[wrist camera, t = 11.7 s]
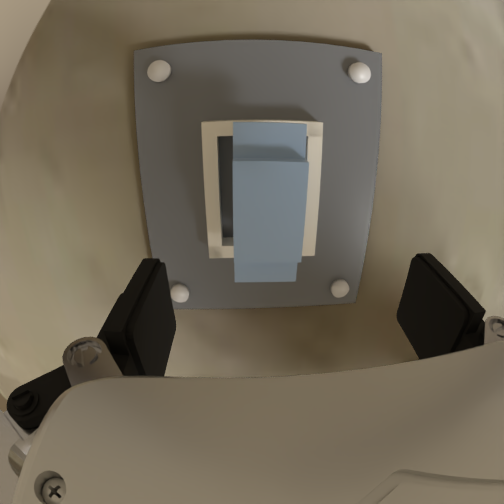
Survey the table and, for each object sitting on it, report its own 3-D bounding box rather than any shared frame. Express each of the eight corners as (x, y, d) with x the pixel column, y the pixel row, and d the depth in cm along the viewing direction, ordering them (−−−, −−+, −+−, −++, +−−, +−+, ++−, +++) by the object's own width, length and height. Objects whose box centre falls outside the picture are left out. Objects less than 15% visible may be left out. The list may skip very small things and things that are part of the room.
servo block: (292, 119, 20) (310, 125, 14) (285, 247, 24) (298, 290, 19) (234, 118, 20) (232, 123, 14) (235, 247, 24) (234, 291, 19)
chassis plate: (376, 54, 18) (390, 50, 16) (352, 296, 28) (360, 312, 26) (138, 52, 17) (126, 47, 15) (164, 302, 28) (159, 319, 25)
